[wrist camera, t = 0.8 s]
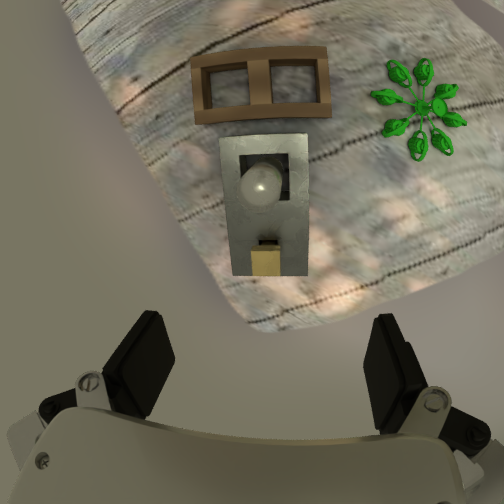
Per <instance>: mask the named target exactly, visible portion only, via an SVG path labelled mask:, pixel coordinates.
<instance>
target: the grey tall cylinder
mask: <svg viewBox="0 0 504 504" xmlns="http://www.w3.org/2000/svg"><path fill="white" fill-rule="evenodd" d="M282 178H283V166H282V164H281V162H280V161H279V160H278V159H276V158H274V157H272V156H264V157H261V158H260V159H258V160H257V161H256V162H255V163H254V164H253V166H252V167H251V168H250V169H249V170H248V171H247V172H246V173H245V174H244V175H243V176H242V177H241V179H240V180H239V182H238V184H237V189H236V193H237V198H238V200H239V202H240V203H241V205H242V206H243V207H244V208H246V209H247V210H249V211H251V212H256V213H263V212H266V211H269V210H271V209H272V208H273V207H275V205H276V204H277V203H278V201H279V198H280V193H281V186H282Z"/></svg>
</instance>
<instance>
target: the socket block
mask: <svg viewBox="0 0 504 504" xmlns="http://www.w3.org/2000/svg"><path fill="white" fill-rule="evenodd" d="M219 148H220V159H221V170H222V180H223V191H224V200H225V210H226V220H227V229H228V238H229V247H230V256H231V265H232V273H233V276H253V273H252V260H251V249H252V246H261V245H262V241H263V240H278V241H276V245H280V255H281V274H280V276H308V245H309V169H308V137H307V134H306V133H274V134H254V135H239V136H228V137H222V138H219ZM272 153H288V154H289V180H290V191H281V193H280V198H279V201H278V203H277V204H276V205H275V207H273V208H272V209H271V210H269V211H266V212H263V213H256V212H251V211H249V210H247V209H246V208H244V207H243V206H242V205H241V203H240V202H239V200H238V198H237V193H236V189H237V184H238V182H239V180H240V179H241V177H242V176H243V175H244V174H245V173H246V172H247V162H246V155H249V154H272Z"/></svg>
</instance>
